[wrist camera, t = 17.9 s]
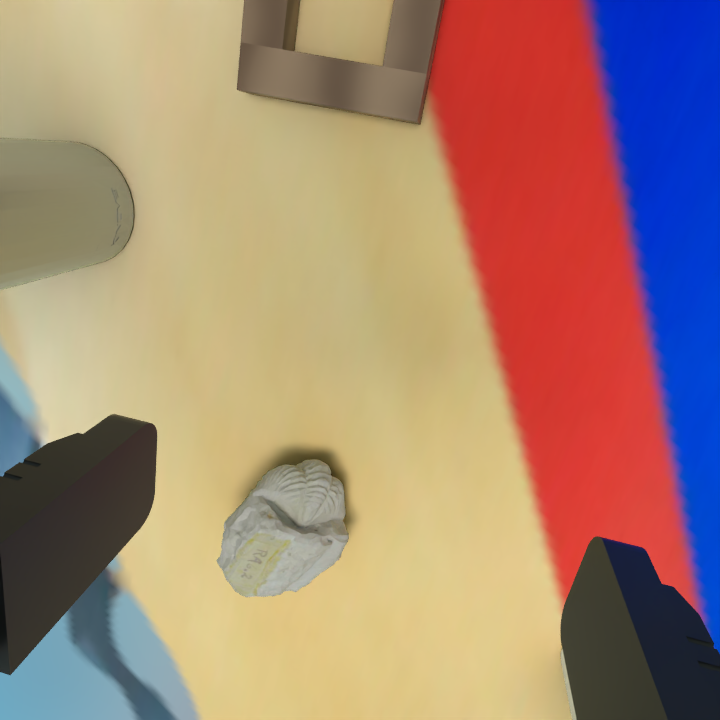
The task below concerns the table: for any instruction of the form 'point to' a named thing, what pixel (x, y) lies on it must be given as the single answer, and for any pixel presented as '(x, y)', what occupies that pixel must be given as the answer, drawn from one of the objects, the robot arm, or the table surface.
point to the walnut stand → (340, 62)
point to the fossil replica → (285, 531)
